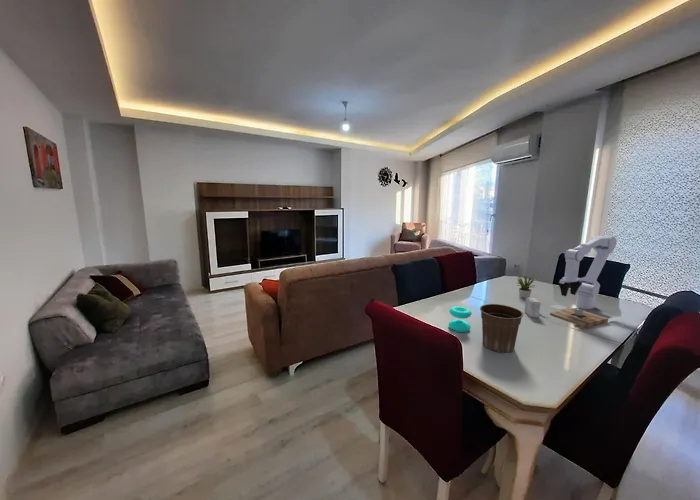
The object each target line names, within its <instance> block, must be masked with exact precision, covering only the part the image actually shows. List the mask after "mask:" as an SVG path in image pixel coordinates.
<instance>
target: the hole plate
mask: <svg viewBox="0 0 700 500" xmlns="http://www.w3.org/2000/svg"><path fill="white" fill-rule="evenodd" d="M575 308H576V307H574V308H566V309H561V310H557V311H551V312H550V313H549V315H551V316H553V317H556V318H559V319H562V320H564V321H568V322H570V323H573V324H575V325H574V327H575V328H578V329H582V330H585V329H588V328H593V327H597V325H598V326H601V324H602V325H605V324H608V322H609V317H605V316H601V315H599V314H595V313H593V312H589V311H585V310H583V317H582V318H579V317H576V316H574V312H575Z"/></svg>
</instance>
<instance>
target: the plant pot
mask: <svg viewBox="0 0 700 500" xmlns="http://www.w3.org/2000/svg"><path fill="white" fill-rule="evenodd" d="M479 311H480V315H481V316H480V317H481V323H482V324H481V325H482V326H481V329H482V331H481V332H482V334H481V335H482V345H483V346H484V347H485V348H486V349H488V350H490V351H493V352H496V351H497V352H499V353H501V354H503V353H504V354H505V353H506V354H507V353H512V352H513V351H515V347H516V341H517V337H518V332H519V328H520V327H519V326H520V325H521V322H522V318H523V317H524V313H523V311H521V310H520V309H518V308H515V307H513V306H509V305H505V304H497V303H489V304H483V305H481V306H480V307H479Z"/></svg>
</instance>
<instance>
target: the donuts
mask: <svg viewBox="0 0 700 500" xmlns="http://www.w3.org/2000/svg"><path fill="white" fill-rule="evenodd" d="M449 314H450V315H451V316H452V317H454V318H455V319H452V320H450V321H449V322H448V327H449V328H450V329H451V330H452V329H453V330H452V331H454V330H455V332H459V333H467V332H469V331H470V330H471V325H470V323H469V322H467V321H466V320H464V319H468V318H470V317H471V316H472V311H471V310H470V308H468V307H465V306H459V305H456V306H452V307H451V308H449Z"/></svg>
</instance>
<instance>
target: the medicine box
mask: <svg viewBox="0 0 700 500" xmlns="http://www.w3.org/2000/svg"><path fill="white" fill-rule="evenodd" d="M540 309H541V302H540V300H538V299H537V298H535V297H529V298H525V305H524V313H526V314H527V315H528V316H529V317H530V318H540V311H541V310H540Z"/></svg>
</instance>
